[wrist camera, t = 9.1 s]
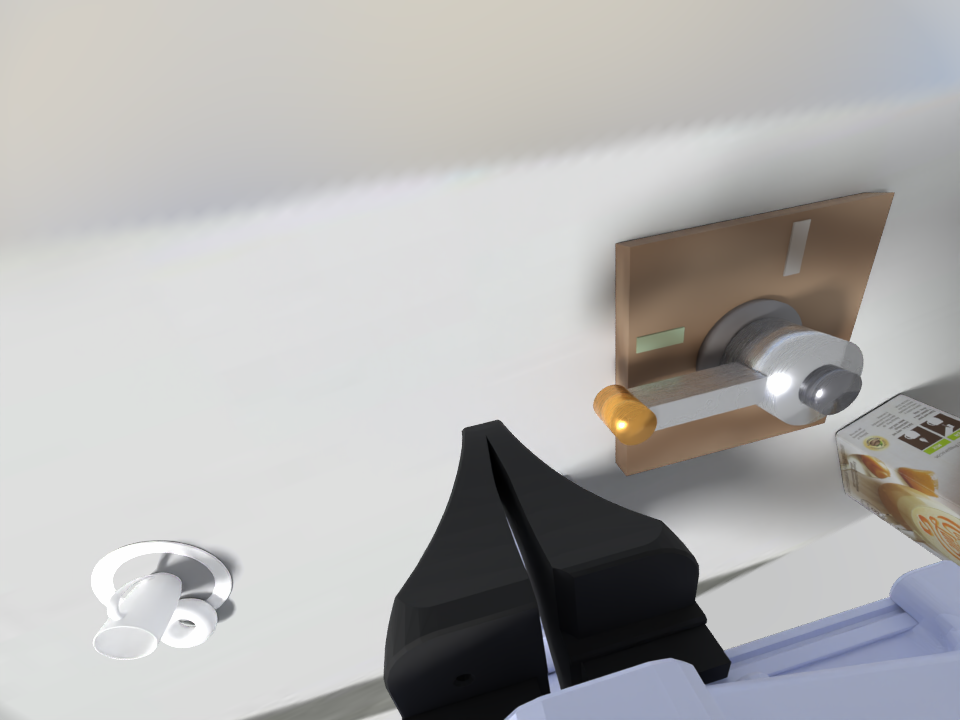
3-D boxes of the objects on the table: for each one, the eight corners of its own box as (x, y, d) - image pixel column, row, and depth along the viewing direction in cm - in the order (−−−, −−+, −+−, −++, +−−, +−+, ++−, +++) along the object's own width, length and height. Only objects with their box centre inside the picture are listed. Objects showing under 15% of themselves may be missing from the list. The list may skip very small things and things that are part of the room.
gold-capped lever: (801, 309, 22) (899, 337, 17) (785, 381, 24) (868, 422, 19) (585, 361, 20) (632, 406, 16) (588, 433, 23) (631, 489, 18)
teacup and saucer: (232, 622, 28) (205, 687, 24) (104, 623, 26) (53, 695, 22) (236, 538, 25) (206, 598, 21) (91, 531, 22) (29, 597, 19)
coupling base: (805, 412, 29) (832, 427, 27) (615, 462, 27) (631, 482, 25) (864, 192, 22) (907, 192, 20) (615, 243, 20) (636, 248, 19)
